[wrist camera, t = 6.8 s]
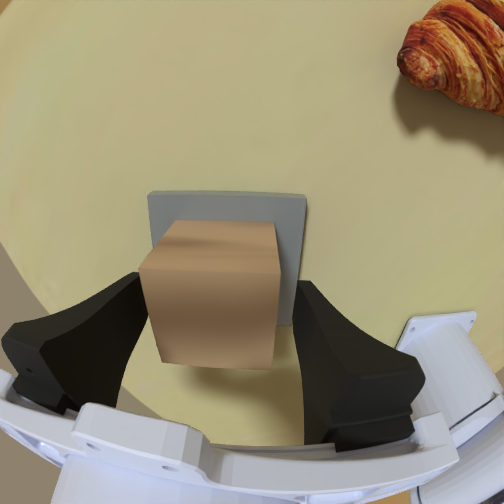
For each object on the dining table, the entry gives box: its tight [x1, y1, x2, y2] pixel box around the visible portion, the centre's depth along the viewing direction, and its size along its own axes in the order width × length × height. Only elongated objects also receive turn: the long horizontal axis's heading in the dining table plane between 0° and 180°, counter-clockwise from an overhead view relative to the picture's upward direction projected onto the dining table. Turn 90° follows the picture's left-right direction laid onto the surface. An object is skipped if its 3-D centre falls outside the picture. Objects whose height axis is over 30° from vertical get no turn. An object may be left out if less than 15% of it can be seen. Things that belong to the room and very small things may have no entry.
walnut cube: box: [138, 220, 281, 370], centre depth 12 cm, size 5×5×5 cm
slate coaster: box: [147, 191, 307, 326], centre depth 15 cm, size 8×8×1 cm
